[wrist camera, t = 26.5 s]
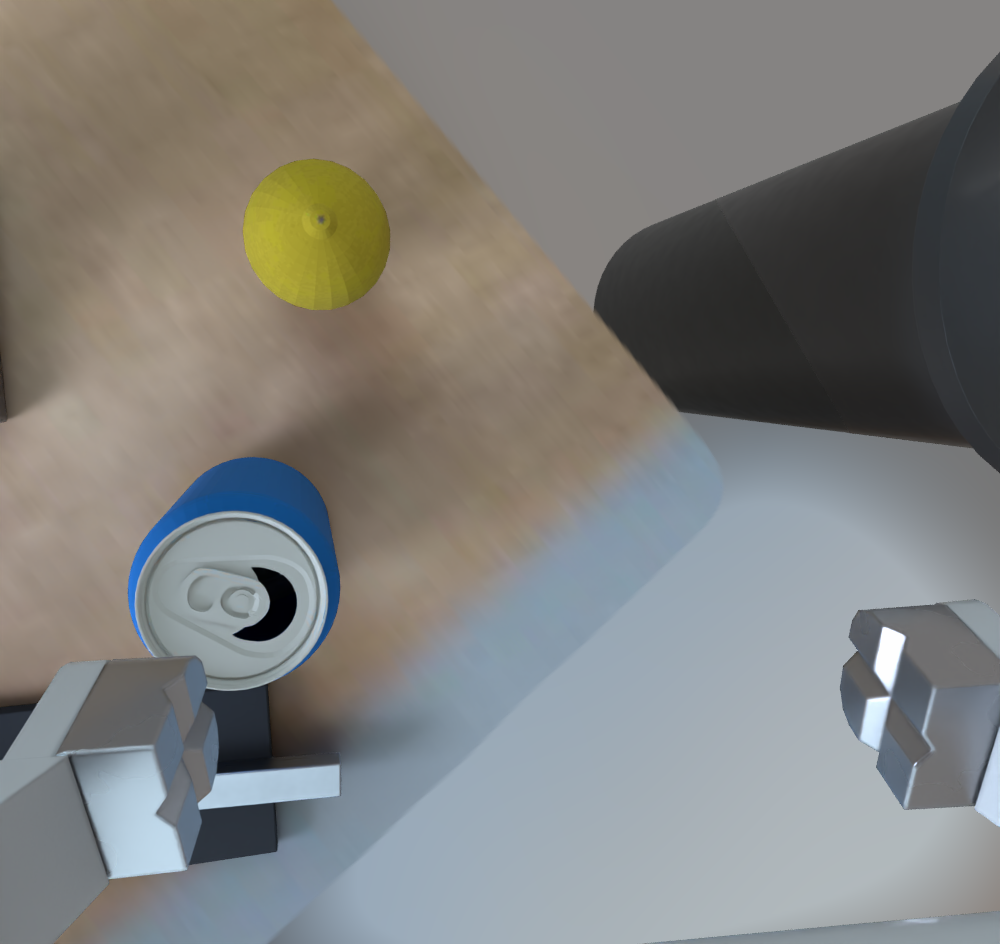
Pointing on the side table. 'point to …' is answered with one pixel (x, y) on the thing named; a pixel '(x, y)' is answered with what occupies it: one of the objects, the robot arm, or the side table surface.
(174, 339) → the side table surface
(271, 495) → the beverage can
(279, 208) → the lemon
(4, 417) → the stand
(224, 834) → the dark grey flat slab
